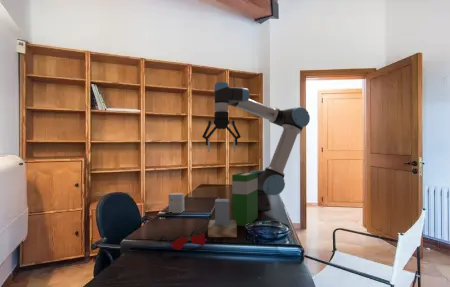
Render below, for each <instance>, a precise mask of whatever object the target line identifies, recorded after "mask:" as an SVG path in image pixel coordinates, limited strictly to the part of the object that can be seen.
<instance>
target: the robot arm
mask: <svg viewBox="0 0 450 287" xmlns="http://www.w3.org/2000/svg"><path fill="white" fill-rule="evenodd" d="M213 90H214V91H213V92H214V94H213V95H214V96H213V97H214V103H213V104H214V106H213V107H214V117H213V118H214V120H213V121H212V120H208V123H207V124H208V125H207V127H206V129H205V131H204V132H203V134H202V138H203V139H205V145H206V146H207V152H210V148H211V147H210V146H211V144H210V142H211V140H210V138H211V136H212V135H213V134H214V132H215V131H216V130H217V129H218V130H227V131H228V132H229V133H230V135H231V136H232V137H233V138H234V139H233V152H236V146H237V145H238V139H241V137H242V136H241V134H240V132H239V130H238V128H237V126H236V124H235V120H230V119H229V115H230V114H229V110H230V109H229V106H232V107H234V108H236V109H240V110H242V111H245V112H247V113H249V114H252V115H255V116H258V117H260V118H263V119H266V120H268V121H269V123H271V124H274V125H277V126H279V127H282V129H283V130H282V131H281V132H282V133H281V135H280V138H279V139H278V143H277V145H276V148H275V150H274V153H273V155H272V157H271V160H270V163H269V166H267V167H265V168H264V170H263V169H260V170H250V171H249V172H248V173H254V172H258V211H260V212H261V211H270V210H271V209H272V203H271V201H270V197H269V196H277V195H280V194H281V193H282V192H283V191H284V189H285V187H286V186H285V185H286V181H285V178H284V177H285V173H284V171H285V168H286V166H287V164H288V161H289V158H290V155H291V152H292V150H293V147H294V144H295V142H296V139H297V136H298V135H299V134H301V133H302V131H303V128H304V127H307V126H308V125H309V123H310V120H311V117H310V113H309V112H308V110H307V109H306V108H305V107H303V106H296V107H293V108H286V109H281V108H278V107H274V108H272V107H271V106H268V105H265V104H264V103H260V102H258V101H255V100H253V99H251V98H250V96H251V94H250V90H249V88H246V87H245V88H244V87H233V86H230V84H229V83H228V82H226V81H217V82H216V83H214V89H213ZM212 125H214V127H213V128H212V130H210V128H211V126H212ZM229 125H231V126H232V128H233V129H234V131H232V129H231V128H230V127H229ZM209 130H210V132H209ZM208 132H209V133H208ZM234 132H235V133H236V134H235V133H234Z"/></svg>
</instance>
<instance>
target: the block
mask: <svg viewBox="0 0 450 287" xmlns="http://www.w3.org/2000/svg"><path fill="white" fill-rule="evenodd" d="M214 220H215V225H229V220H230V198H216V199H215V200H214Z"/></svg>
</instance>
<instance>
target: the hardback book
mask: <svg viewBox="0 0 450 287" xmlns="http://www.w3.org/2000/svg"><path fill="white" fill-rule="evenodd" d="M231 176H232V177H231V178H232V179H231V184H232V187H231V190H232V191H231V192H232V193H231V196H232V198H231V199H232V201H231V205H232V207H231V212H232V214H231V215H232V217H231V218H232V219H231V220H236V225H237V226H238V227H239V226H240V227H246V226H245V225H246V224H248V223H251V222H252V223H253V222H254V221H256V220H257V219H258V172H254V173H249V172H247V171H241V172H237V173H235V174H232V175H231ZM252 223H251V224H252Z"/></svg>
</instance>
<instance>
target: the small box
mask: <svg viewBox="0 0 450 287" xmlns="http://www.w3.org/2000/svg"><path fill="white" fill-rule="evenodd" d="M167 196H168V197H167V198H168V213H169V212H172V213H171V214H183V213H184V212H185V193H184V192H171V193H168V195H167ZM183 211H184V212H183ZM182 212H183V213H182Z"/></svg>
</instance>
